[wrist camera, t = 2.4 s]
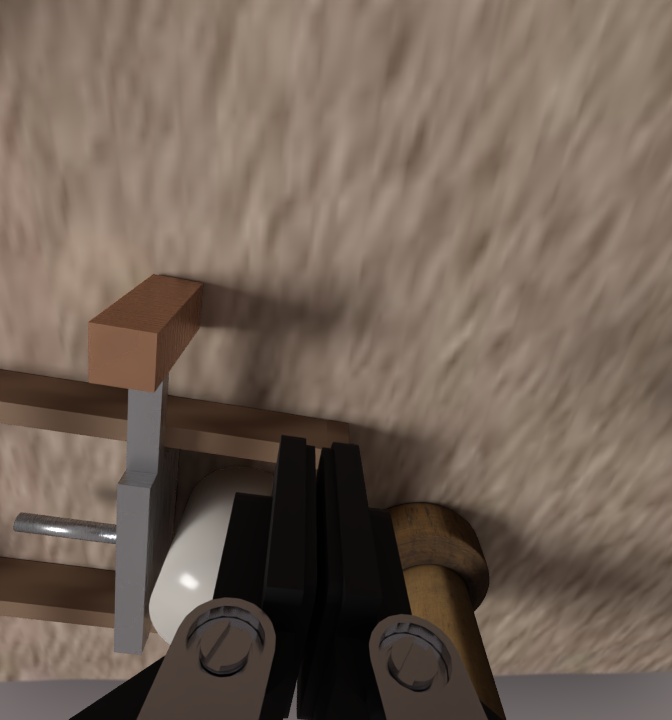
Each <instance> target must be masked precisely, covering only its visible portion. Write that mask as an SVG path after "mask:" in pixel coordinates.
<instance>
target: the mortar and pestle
mask: <svg viewBox="0 0 672 720" xmlns="http://www.w3.org/2000/svg"><path fill="white" fill-rule="evenodd" d="M387 510H388V511H389V512H390V515H391V518H392V523H393V528H394V532H395V537H396V542H397V546H398V551H399V556H400V560H401V565H402V570H403V574H404V579H405V584H406V588H407V593H408V598H409V602H410V607H411V612H412V615H414V616H417V617H420V618H422V619H425V620H428V621H429V622H431V623H432V624H434V625H435V626H437V627H438V628H440V629H441V630H442V631H443V632H444V633H445V634H446V635H447V636H448V637H449V638H450V639H451V641H452V642H453V644H454V646H455V648H456V649H457V651H458V653H459V655H460V657H461V659H462V662H463V664H464V666H465V668H466V671H467V673H468V675H469V678H470V680H471V682H472V685H473V687H474V689H475V691H476V694H477V696H478V698H479V700H481V701H482V702H483V703H484V704H485V705H486V706H487V707H489V708H490V709H491V710H492V711H493V712H494V713H496V714H497V715H498V716H499V717H500V718H501V719H502V720H506V717H505V714H504V711H503V707H502V704H501V701H500V698H499V694H498V691H497V688H496V685H495V681H494V678H493V675H492V672H491V668H490V665H489V662H488V658H487V655H486V652H485V648H484V645H483V642H482V638H481V635H480V632H479V628H478V625H477V621H476V618H475V615H474V611H475V610H476V609H477V608H478V607H479V606H480V604H481V603H482V601H483V600H484V598H485V596H486V593H487V591H488V587H489V571H488V567H487V564H486V561H485V558H484V555H483V552H482V549H481V547H480V544H479V541H478V538H477V536H476V534H475V532H474V530H473V528H472V527H471V525H470V524H469V523H468V522H467V521H466V520H465V519H464V518H462V517H461V516H459V515H458V514H457V513H455V512H454V511H452V510H450V509H447V508H445V507H442V506H438V505H434V504H428V503H411V504H403V505H399V506H395V507H392V508H389V509H387Z"/></svg>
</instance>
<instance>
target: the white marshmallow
mask: <svg viewBox="0 0 672 720" xmlns="http://www.w3.org/2000/svg"><path fill="white" fill-rule="evenodd" d="M273 480H274V475H272V474H270V473H268V472H266V471H263V470H260V469H256V468H251V467H229V468H224V469H220V470H218V471H215V472H213V473H211V474H209V475H207V476H206V477H204V478H203V479H202V480H201V481H200V482H199V483H198V484H197V485H196V486H195V488H194V489H193V491H192V493H191V495H190V498H189V500H188V503H187V505H186V508H185V511H184V513H183V516H182V518H181V521H180V523H179V526H178V528H177V531H176V534H175V536H174V539H173V541H172V544H171V546H170V549H169V551H168V554H167V557H166V559H165V562H164V564H163V567H162V569H161V572H160V574H159V577H158V580H157V582H156V585H155V587H154V590H153V592H152V595H151V598H150V603H149V614H150V618H151V621H152V624H153V626H154V628H155V629H156V631H157V632H158V634H159V635H160V636H161V637H162V638H163V639H164V640H165V641H166V642H167V643H168V644H170V645H171V642H172V640H173V638H174V636H175V634H176V631H177V629H178V627H179V626H180V624H181V623H182V621H183V620H184V618H185V617H186V615H188V614H189V613H190V612H191V611H192V610H194V609H195V608H196V607H197V606H199V605H201V604H203V603H206V602H208V601H210V600H212V599H213V594H214V589H215V585H216V580H217V576H218V571H219V566H220V562H221V557H222V552H223V548H224V543H225V539H226V534H227V529H228V525H229V520H230V515H231V511H232V506H233V502H234V497H235V493H236V492H240V493H248V494H256V495H265V496H271V492H272V486H273Z"/></svg>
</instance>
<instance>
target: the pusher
mask: <svg viewBox="0 0 672 720" xmlns="http://www.w3.org/2000/svg"><path fill="white" fill-rule="evenodd" d="M202 291H203V283H201V282H195V281H190V280H184V279H178V278H172V277H167V276H161V275H155V274H153V275H152V276H150V277H149V278H147V279H146V280H145V281H143V282H142V283H141V284H139V285H138V286H137V287H135V288H134V289H133V290H131V291H130V292H128V293H127V294H126V295H124V296H123V297H122V298H120V299H119V300H118V301H116V302H115V303H114V304H112V305H111V306H110V307H108V308H107V309H105V310H104V311H103V312H101V313H100V314H99V315H97V316H96V317H95V318H93V319H92V320H91V321H89V322H88V359H89V383H94V384H100V385H107V386H113V387H120V388H126V389H128V424H127V459H126V471H125V472H124V474H123V476H122V477H121V479H120V481H119V482H118V484H117V525H115V524H107V523H99V522H92V521H84V520H76V519H69V518H61V517H53V516H46V515H38V514H30V513H23V512H21V513H20V514H19V515H18V516H17V517H16V520H15V522H14V531H17V532H25V533H33V534H40V535H48V536H56V537H64V538H72V539H80V540H88V541H96V542H103V543H111V544H116V577H115V627H114V652H118V653H127V654H136V655H142V652H143V650H144V647H145V644H146V641H147V639H148V636H149V633H150V630H151V628H152V625H153V624H152V621H151V618H150V614H149V603H150V598H151V595H152V592H153V590H154V587H155V585H156V582H157V580H158V577H159V574H160V572H161V569H162V567H163V564H164V562H165V559H166V557H167V554H168V551H169V549H170V546H171V544H172V541H173V530H174V516H175V503H176V490H177V477H178V464H179V451H180V449H176V448H169V447H164V446H165V430H166V414H167V398H168V382H169V371H170V370H171V368H172V367H173V365H174V364H175V363H176V361H177V360H178V358H179V357H180V355H181V354H182V353H183V351H184V350H185V348H186V347H187V345H188V344H189V343H190V341H191V340H192V338H193V337H194V335H195V334H196V333H197V331H198V330H199V326H200V314H201V302H202Z"/></svg>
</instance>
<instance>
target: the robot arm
mask: <svg viewBox="0 0 672 720" xmlns="http://www.w3.org/2000/svg"><path fill="white" fill-rule="evenodd" d="M296 681H297V719H303V720H502V719H501V718H500V717H499V716H498V715H497V714H496V713H494V712H493V711H492V710H491V709H490V708H489V707H487V706H486V705H485V704H484V703H483V702H482V701H481V700H479V698H478V696H477V694H476V691H475V689H474V687H473V685H472V682H471V680H470V678H469V675H468V673H467V671H466V668H465V666H464V664H463V662H462V659H461V657H460V655H459V653H458V651H457V649H456V648H455V646H454V644H453V642H452V641H451V639H450V638H449V637H448V636H447V635H446V634H445V633H444V632H443V631H442V630H441V629H440V628H438V627H437V626H435V625H434V624H432V623H431V622H429V621H428V620H425V619H422V618H420V617H417V616H414V615H412V612H411V607H410V602H409V598H408V593H407V588H406V584H405V579H404V574H403V570H402V565H401V560H400V556H399V551H398V546H397V542H396V537H395V532H394V528H393V523H392V518H391V515H390V512H389V511H388V510H382V509H373V508H368V501H367V495H366V489H365V482H364V476H363V470H362V463H361V457H360V451H359V446H358V445H354V444H347V443H339V442H333V443H332V445H331V448H326V447H323V448H322V450H321V455H320V459H319V464H318V469H317V474H316V454H315V446H311V445H306V438H302V437H295V436H287V435H281V439H280V444H279V450H278V456H277V462H276V468H275V474H274V480H273V486H272V492H271V496H265V495H256V494H248V493H240V492H236V493H235V497H234V502H233V506H232V511H231V515H230V520H229V525H228V529H227V534H226V539H225V543H224V548H223V552H222V557H221V562H220V566H219V571H218V576H217V580H216V585H215V589H214V594H213V599H212V600H210V601H208V602H206V603H203V604H201V605H199V606H197V607H196V608H195V609H194V610H192V611H191V612H190V613H189V614H188V615H186V617H185V618H184V620H183V621H182V623H181V624H180V626H179V627H178V629H177V631H176V634H175V636H174V638H173V640H172V642H171V645H170V647H169V649H168V651H167V654H166V655H165V656H164V657H162V658H161V659H159V660H158V661H156V662H155V663H153V664H152V665H150V666H149V667H147V668H146V669H144V670H143V671H141V672H140V673H138V674H137V675H135V676H134V677H132V678H131V679H129V680H128V681H126V682H125V683H123V684H122V685H120V686H118V687H117V688H115V689H114V690H113V691H111V692H109V693H108V694H106V695H105V696H103V697H102V698H100V699H99V700H97V701H96V702H94V703H93V704H91V705H90V706H88V707H87V708H85V709H84V710H82V711H81V712H79V713H78V714H76V715H75V716H73V717H72V718H70V719H69V720H283V718H288V716H289V712H290V707H291V703H292V698H293V694H294V690H295V686H296Z"/></svg>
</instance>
